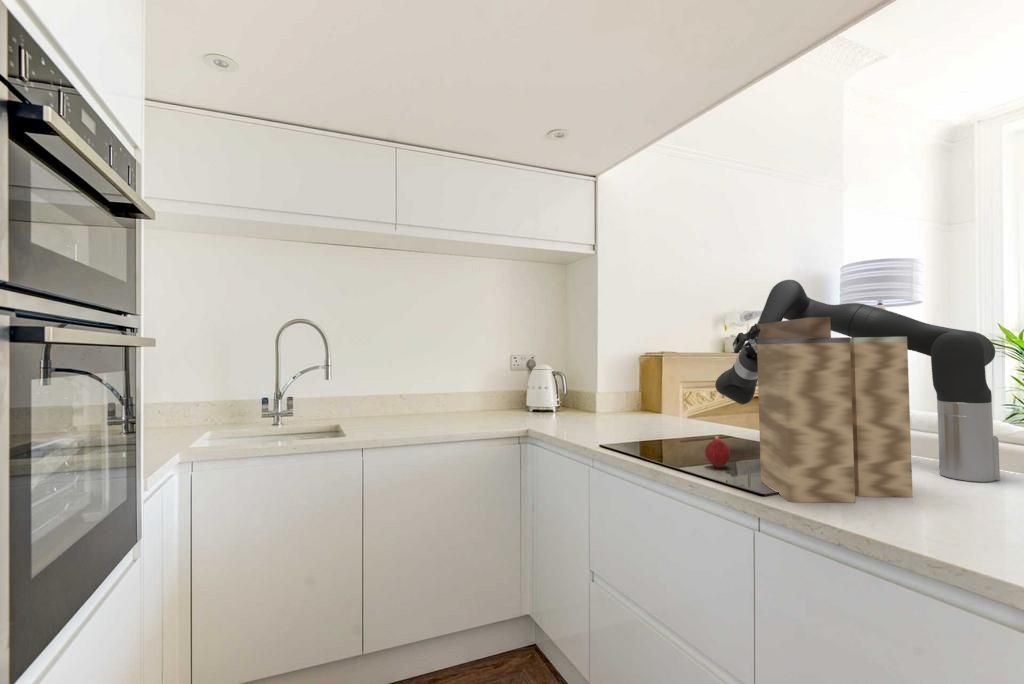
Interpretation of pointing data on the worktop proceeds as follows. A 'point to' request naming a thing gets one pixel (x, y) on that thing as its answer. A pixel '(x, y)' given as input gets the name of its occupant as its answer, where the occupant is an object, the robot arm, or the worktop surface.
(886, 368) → the tower
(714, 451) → the onion
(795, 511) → the worktop surface
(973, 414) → the robot arm
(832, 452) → the tower
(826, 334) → the walnut bar
